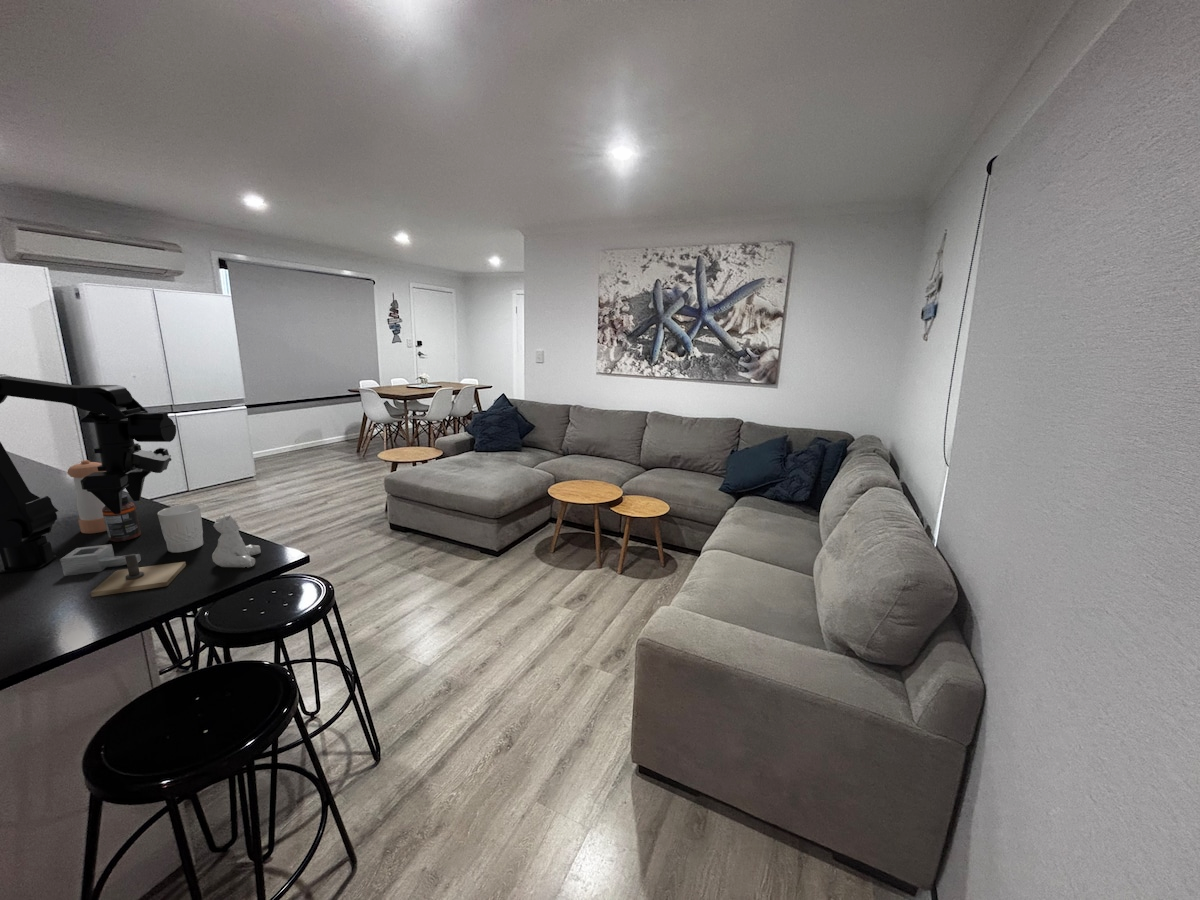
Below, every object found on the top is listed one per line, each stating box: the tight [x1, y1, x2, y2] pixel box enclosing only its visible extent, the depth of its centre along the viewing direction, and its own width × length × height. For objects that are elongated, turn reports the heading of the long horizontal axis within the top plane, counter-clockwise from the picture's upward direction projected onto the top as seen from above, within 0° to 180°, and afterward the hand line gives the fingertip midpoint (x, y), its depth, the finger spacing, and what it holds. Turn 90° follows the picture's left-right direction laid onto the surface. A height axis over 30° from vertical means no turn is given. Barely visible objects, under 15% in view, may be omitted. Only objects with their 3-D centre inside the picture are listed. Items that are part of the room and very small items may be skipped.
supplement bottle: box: [102, 494, 142, 543], centre depth 120 cm, size 6×6×11 cm
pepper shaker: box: [66, 459, 107, 534], centre depth 124 cm, size 7×7×19 cm
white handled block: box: [59, 543, 142, 577], centre depth 106 cm, size 12×6×4 cm, turn 114°
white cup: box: [156, 504, 204, 553], centre depth 116 cm, size 8×8×10 cm
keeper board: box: [90, 553, 187, 598], centre depth 100 cm, size 12×10×6 cm
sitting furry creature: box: [211, 513, 261, 568], centre depth 108 cm, size 10×9×12 cm
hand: (127, 507), depth 108 cm, fingers open, 9 cm apart
